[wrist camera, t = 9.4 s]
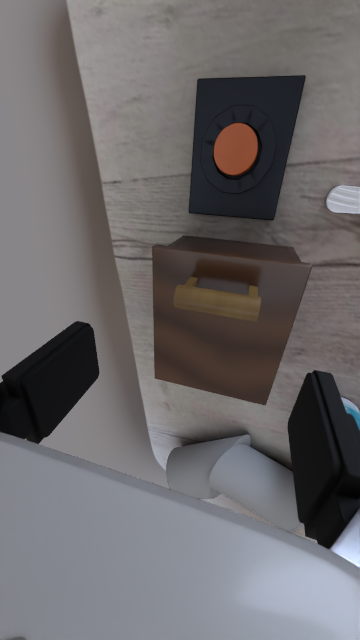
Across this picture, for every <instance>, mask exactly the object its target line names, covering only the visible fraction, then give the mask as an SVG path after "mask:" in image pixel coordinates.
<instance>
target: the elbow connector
mask: <svg viewBox="0 0 360 640" xmlns="http://www.w3.org/2000/svg"><path fill="white" fill-rule="evenodd" d="M250 443H251V437H250V435H242V436H236V437H231V438H225V439H220V440H214V441H209V442H203V443H198V444H192V445H187V446H181V447H177V448H174V449H173V450H172V451H171V453H170V455H169V457H168V460H167V466H166V476H167V482H168V486H169V489H171V490H174V491H177V492H180V493H183V494H186V495H188V496H191V497H194V498H197V499H213V498H215V497H217V496H218V495H220V494H223V495H225V496H226V497H228V498H230V499H232V500H233V501H235V502H237V503H238V504H240V505H242V506H243V507H245V508H247V509H249V510H250V511H252V512H254V513H255V514H257V515H259V516H260V517H262V518H264V519H266V520H267V521H269V522H271V523H272V524H274V525H276V526H277V527H279V528H281V529H283V530H286V531H288V532H291V533H294V532H296V531H298V530H299V529H300V528H301V527H302V526H303V525H304V524H303V523H300V522H299V519H298V513H297V505H296V496H295V487H294V478H293V472H292V471H290V470H289V469H287V468H285V467H283V466H282V465H280V464H278V463H277V462H275V461H273V460H272V459H270V458H268V457H266V456H265V455H263V454H261V453H260V452H258V451H256V450H254V449H253V448H251V447H250Z"/></svg>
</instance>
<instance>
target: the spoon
mask: <svg viewBox="0 0 360 640" xmlns="http://www.w3.org/2000/svg"><path fill="white" fill-rule="evenodd" d="M326 207H327V208H328V209H329V210H330V211H331V212H336V213H352V214H360V188H359V187H354V186H346V185H340V186H337V187H335V188H333V189H331V191H330V192H329V193H328V195H327V197H326Z"/></svg>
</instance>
